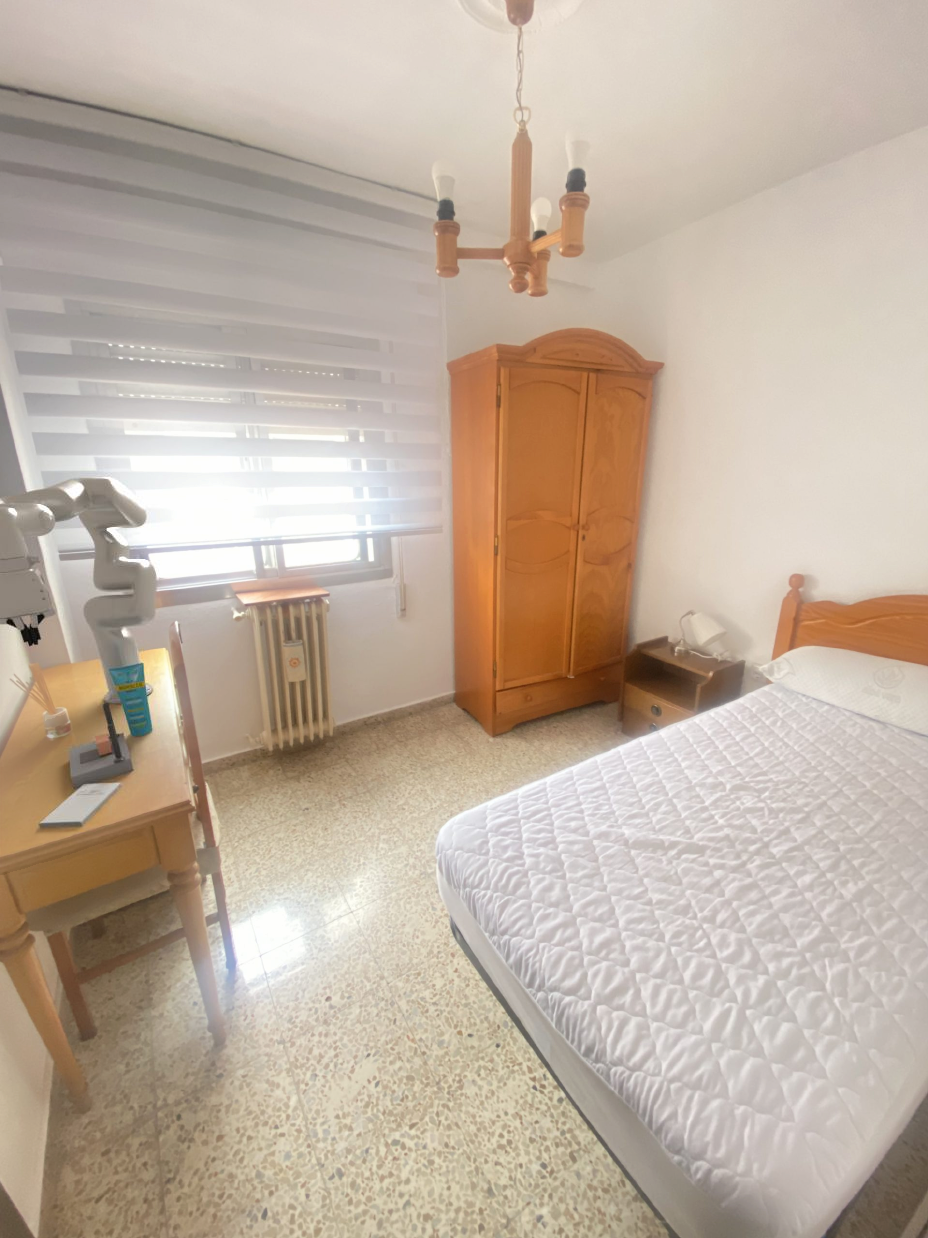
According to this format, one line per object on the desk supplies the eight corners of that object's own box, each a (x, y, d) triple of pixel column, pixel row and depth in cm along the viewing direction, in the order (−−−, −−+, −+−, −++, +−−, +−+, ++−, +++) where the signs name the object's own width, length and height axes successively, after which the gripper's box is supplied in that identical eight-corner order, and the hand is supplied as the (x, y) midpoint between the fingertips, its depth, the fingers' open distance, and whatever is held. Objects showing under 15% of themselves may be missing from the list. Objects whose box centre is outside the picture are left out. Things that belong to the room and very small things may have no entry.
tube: (125, 740, 126) (107, 672, 121) (125, 732, 130) (108, 665, 124) (159, 731, 130) (143, 664, 124) (158, 724, 134) (142, 659, 128)
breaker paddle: (98, 748, 117) (95, 736, 116) (110, 745, 118) (107, 733, 117) (99, 755, 114) (96, 743, 113) (112, 752, 115) (108, 740, 114)
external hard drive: (40, 830, 96) (84, 789, 108) (83, 828, 97) (122, 788, 108) (38, 823, 96) (82, 783, 108) (81, 821, 96) (120, 781, 108)
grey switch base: (72, 758, 119) (68, 747, 118) (125, 742, 125) (123, 731, 124) (74, 790, 107) (70, 777, 106) (133, 770, 114) (130, 758, 113)
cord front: (115, 756, 112) (106, 724, 110) (121, 754, 113) (113, 722, 110) (116, 759, 111) (107, 726, 109) (122, 757, 112) (113, 724, 110)
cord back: (110, 733, 122) (102, 703, 120) (115, 731, 123) (107, 701, 120) (110, 735, 121) (102, 704, 119) (116, 733, 122) (108, 703, 120)
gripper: (52, 558, 114) (73, 632, 120) (-37, 567, 105) (-9, 647, 111) (53, 562, 109) (75, 640, 114) (-41, 573, 100) (-12, 657, 105)
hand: (33, 643), depth 113 cm, fingers closed
